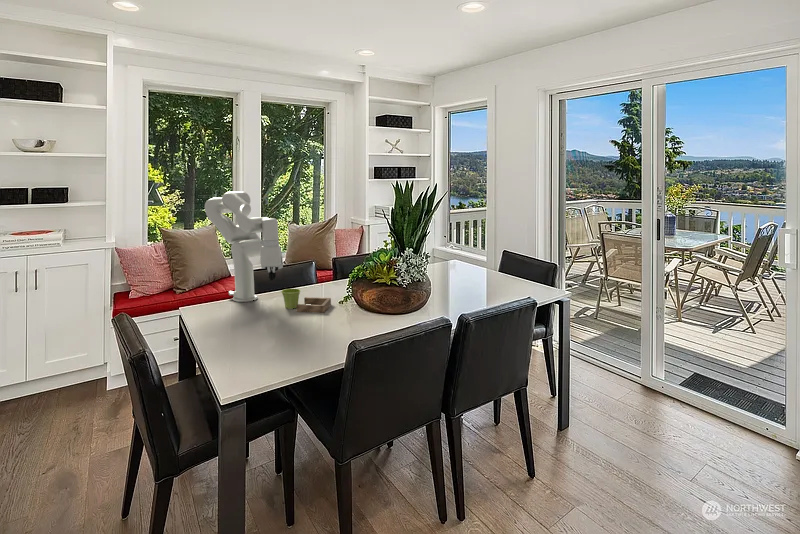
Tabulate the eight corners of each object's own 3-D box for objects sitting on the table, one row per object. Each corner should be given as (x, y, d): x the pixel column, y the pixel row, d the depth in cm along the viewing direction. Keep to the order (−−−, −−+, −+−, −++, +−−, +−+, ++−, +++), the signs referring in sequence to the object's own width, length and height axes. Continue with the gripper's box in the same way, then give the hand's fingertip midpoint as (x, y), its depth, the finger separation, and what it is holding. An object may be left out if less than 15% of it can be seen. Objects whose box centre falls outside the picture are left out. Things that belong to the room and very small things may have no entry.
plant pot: (282, 310, 238) (281, 293, 236) (281, 305, 247) (280, 288, 245) (301, 309, 240) (301, 292, 239) (300, 304, 249) (299, 288, 248)
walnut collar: (296, 311, 236) (296, 304, 235) (305, 303, 250) (305, 297, 250) (323, 312, 235) (323, 306, 234) (330, 304, 249) (330, 298, 249)
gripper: (253, 244, 235) (255, 281, 238) (283, 244, 234) (284, 281, 237) (258, 242, 242) (260, 278, 246) (288, 242, 241) (289, 278, 244)
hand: (272, 279), depth 241 cm, fingers closed
